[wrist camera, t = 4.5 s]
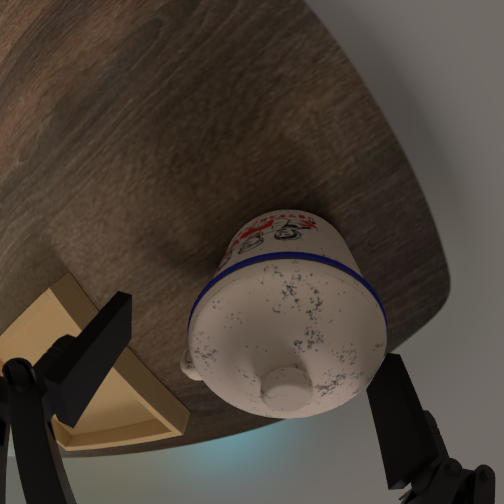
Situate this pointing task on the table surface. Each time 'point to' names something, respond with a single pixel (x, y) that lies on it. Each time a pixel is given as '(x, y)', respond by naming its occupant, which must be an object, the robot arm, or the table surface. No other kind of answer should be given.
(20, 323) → the tray
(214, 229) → the table surface
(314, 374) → the teacup with lid
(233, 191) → the table surface
